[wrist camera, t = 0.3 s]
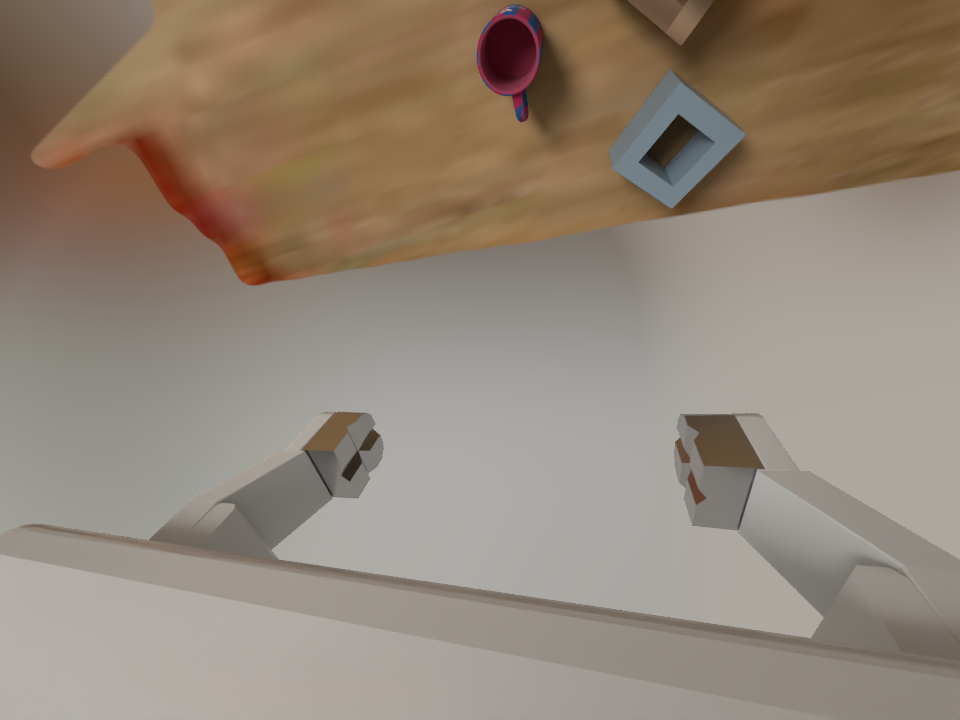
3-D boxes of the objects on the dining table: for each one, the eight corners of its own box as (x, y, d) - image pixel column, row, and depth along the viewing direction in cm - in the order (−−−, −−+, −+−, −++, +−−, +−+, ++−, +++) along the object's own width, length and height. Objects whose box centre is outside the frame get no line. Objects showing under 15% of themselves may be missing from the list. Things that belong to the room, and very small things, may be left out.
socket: (669, 68, 41) (680, 81, 37) (730, 117, 44) (746, 134, 40) (608, 150, 48) (612, 169, 44) (663, 188, 51) (671, 209, 47)
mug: (540, -4, 38) (537, 4, 34) (546, 105, 46) (544, 123, 41) (480, 13, 40) (470, 22, 36) (495, 115, 47) (488, 133, 43)
